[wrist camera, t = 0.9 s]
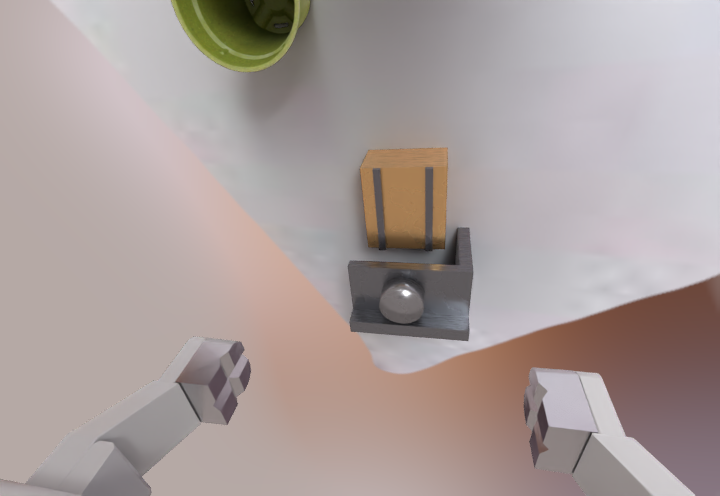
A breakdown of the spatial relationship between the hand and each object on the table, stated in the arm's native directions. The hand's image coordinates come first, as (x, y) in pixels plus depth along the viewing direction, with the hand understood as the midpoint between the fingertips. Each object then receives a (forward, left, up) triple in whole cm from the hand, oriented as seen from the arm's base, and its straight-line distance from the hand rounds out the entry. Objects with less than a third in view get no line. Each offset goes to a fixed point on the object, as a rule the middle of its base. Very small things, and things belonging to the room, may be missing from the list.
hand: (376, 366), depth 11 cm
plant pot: (-9, -13, -31) cm, 34 cm away
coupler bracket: (+18, -2, -31) cm, 36 cm away
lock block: (+9, -2, -31) cm, 32 cm away
